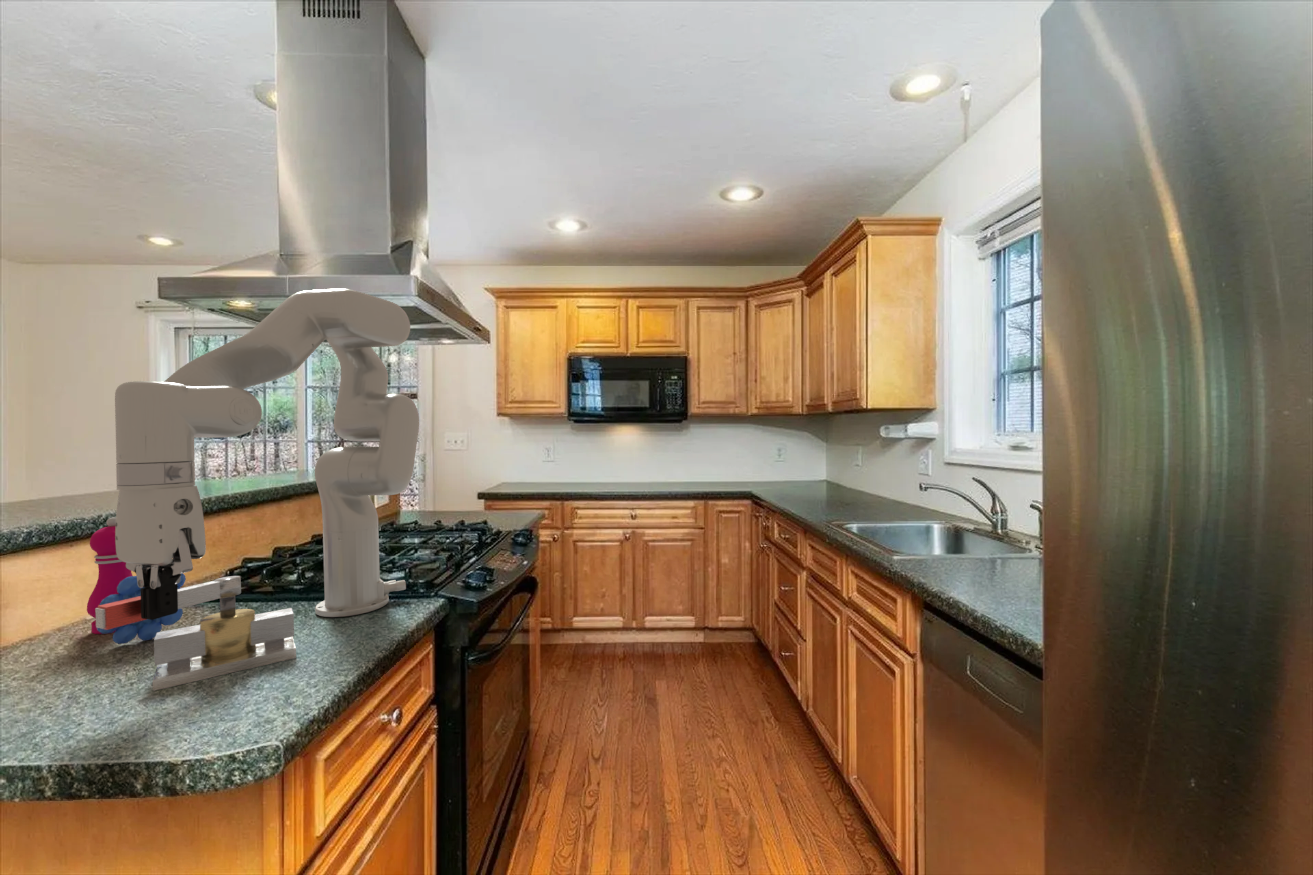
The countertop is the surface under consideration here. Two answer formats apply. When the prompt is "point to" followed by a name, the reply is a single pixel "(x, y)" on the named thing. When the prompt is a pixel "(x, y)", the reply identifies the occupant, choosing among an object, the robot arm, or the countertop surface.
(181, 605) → the valve lever
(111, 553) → the pepper mill
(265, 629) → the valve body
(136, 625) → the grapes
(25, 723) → the countertop surface
